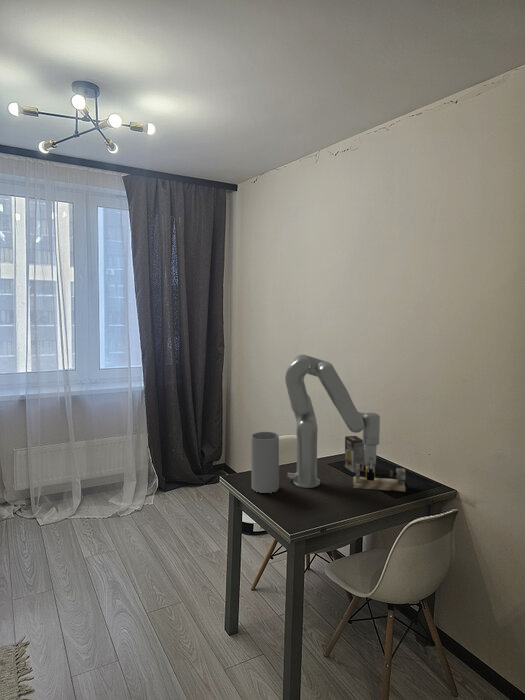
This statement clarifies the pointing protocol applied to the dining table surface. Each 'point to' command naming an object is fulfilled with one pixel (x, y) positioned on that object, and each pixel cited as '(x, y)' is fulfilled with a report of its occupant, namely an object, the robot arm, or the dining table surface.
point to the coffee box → (354, 453)
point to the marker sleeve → (367, 471)
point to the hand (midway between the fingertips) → (370, 477)
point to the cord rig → (380, 480)
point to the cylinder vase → (265, 462)
